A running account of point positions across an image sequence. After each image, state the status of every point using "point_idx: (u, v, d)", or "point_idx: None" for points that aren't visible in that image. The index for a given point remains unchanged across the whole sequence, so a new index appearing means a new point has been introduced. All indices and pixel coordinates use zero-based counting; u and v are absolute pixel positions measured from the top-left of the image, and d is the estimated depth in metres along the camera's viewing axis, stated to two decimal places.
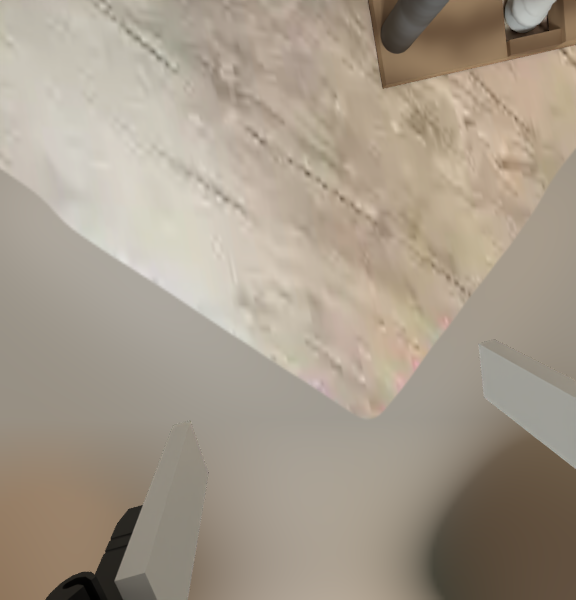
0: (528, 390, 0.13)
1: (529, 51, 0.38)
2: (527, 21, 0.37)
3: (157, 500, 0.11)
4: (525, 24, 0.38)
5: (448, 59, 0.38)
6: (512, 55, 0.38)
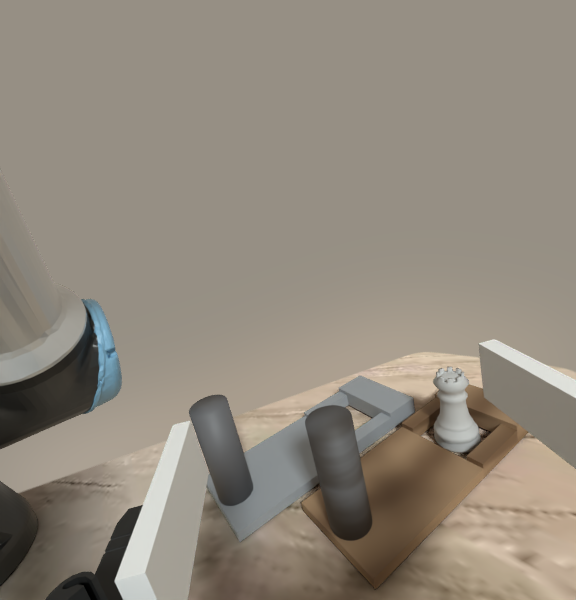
0: (528, 390, 0.13)
1: (497, 452, 0.32)
2: (466, 436, 0.34)
3: (157, 500, 0.11)
4: (467, 440, 0.34)
5: (425, 507, 0.29)
6: (485, 464, 0.31)
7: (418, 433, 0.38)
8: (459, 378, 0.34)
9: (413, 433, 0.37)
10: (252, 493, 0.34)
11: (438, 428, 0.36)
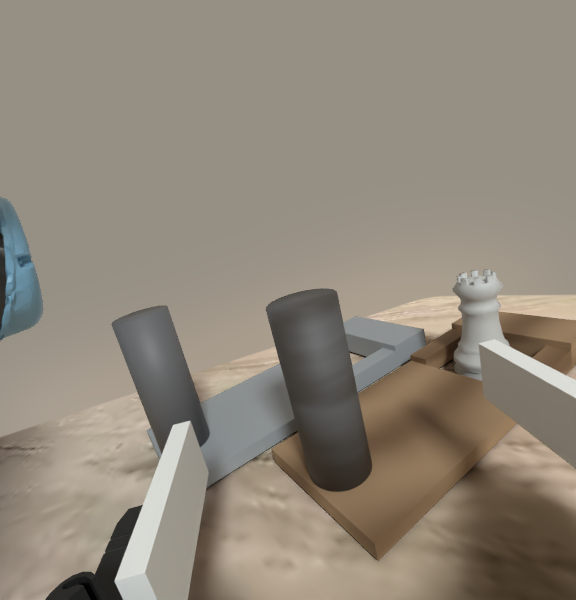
0: (528, 390, 0.13)
1: None
2: None
3: (157, 500, 0.11)
4: None
5: (450, 444, 0.19)
6: None
7: (432, 367, 0.29)
8: (490, 277, 0.24)
9: (426, 365, 0.28)
10: (206, 442, 0.25)
11: (460, 355, 0.27)
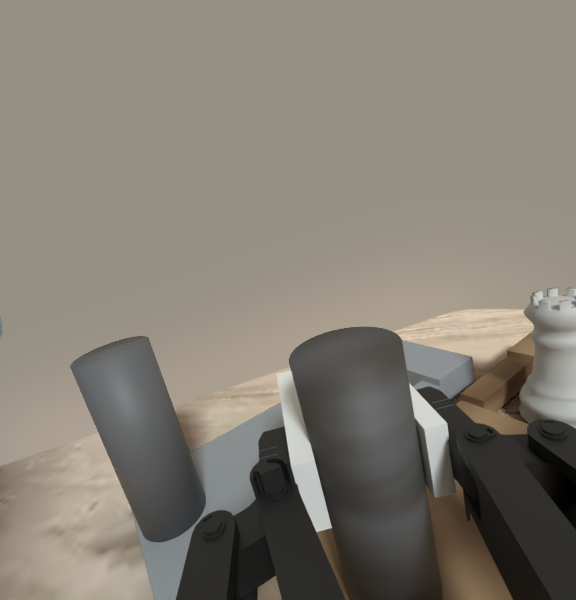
0: None
1: None
2: None
3: (295, 419, 0.13)
4: None
5: None
6: None
7: (491, 410, 0.22)
8: None
9: (484, 409, 0.22)
10: (201, 517, 0.19)
11: (532, 398, 0.21)
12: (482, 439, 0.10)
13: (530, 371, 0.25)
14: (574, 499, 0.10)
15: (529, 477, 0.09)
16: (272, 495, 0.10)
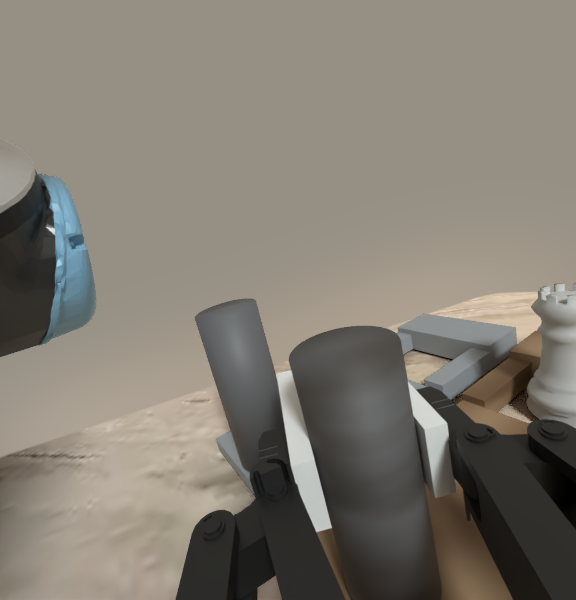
0: None
1: None
2: None
3: (295, 419, 0.13)
4: None
5: None
6: None
7: (492, 410, 0.22)
8: None
9: (485, 409, 0.22)
10: None
11: (539, 391, 0.21)
12: (482, 439, 0.10)
13: (532, 371, 0.25)
14: (574, 499, 0.10)
15: (529, 477, 0.09)
16: (272, 495, 0.10)
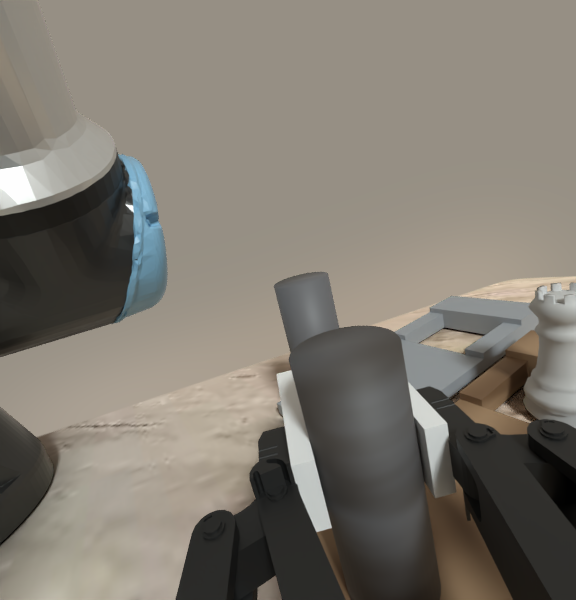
0: None
1: None
2: None
3: (295, 419, 0.13)
4: None
5: None
6: None
7: (489, 409, 0.23)
8: None
9: (482, 408, 0.22)
10: None
11: (536, 391, 0.21)
12: (482, 439, 0.10)
13: (528, 370, 0.25)
14: (574, 499, 0.10)
15: (529, 477, 0.09)
16: (272, 495, 0.10)
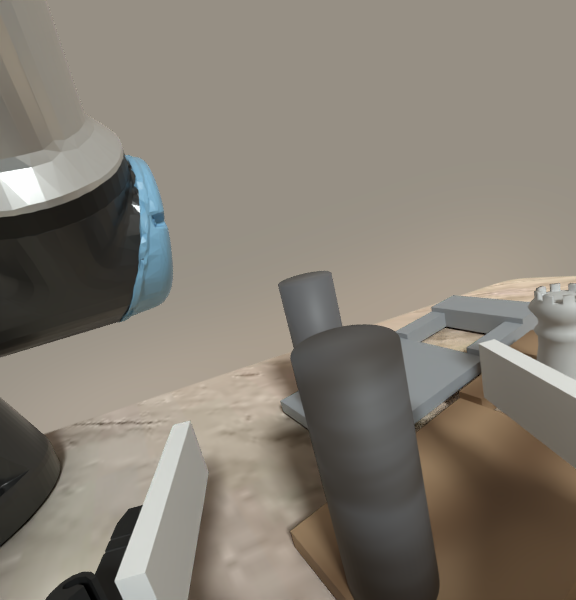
0: (528, 390, 0.13)
1: None
2: None
3: (157, 500, 0.11)
4: None
5: (550, 544, 0.14)
6: None
7: (489, 407, 0.23)
8: None
9: (482, 407, 0.22)
10: None
11: None
12: None
13: None
14: None
15: None
16: None
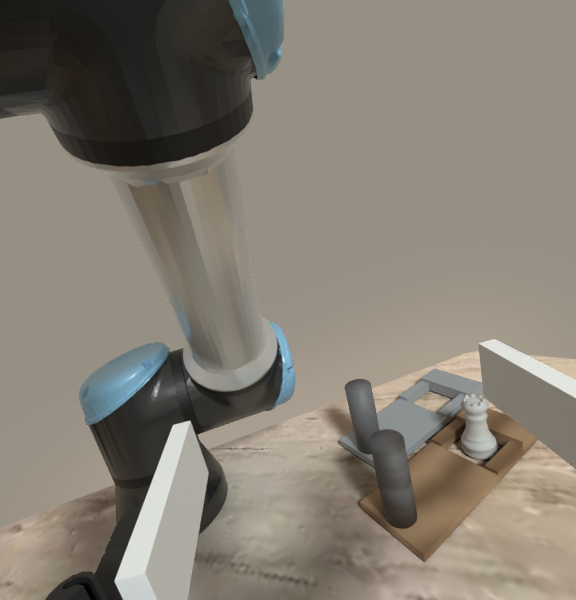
0: (528, 390, 0.13)
1: (507, 462, 0.43)
2: (487, 447, 0.45)
3: (157, 500, 0.11)
4: (488, 449, 0.45)
5: (456, 504, 0.39)
6: (499, 471, 0.42)
7: (445, 447, 0.48)
8: (481, 403, 0.44)
9: (441, 447, 0.48)
10: None
11: (464, 440, 0.47)
12: None
13: None
14: None
15: None
16: None
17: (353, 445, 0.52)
